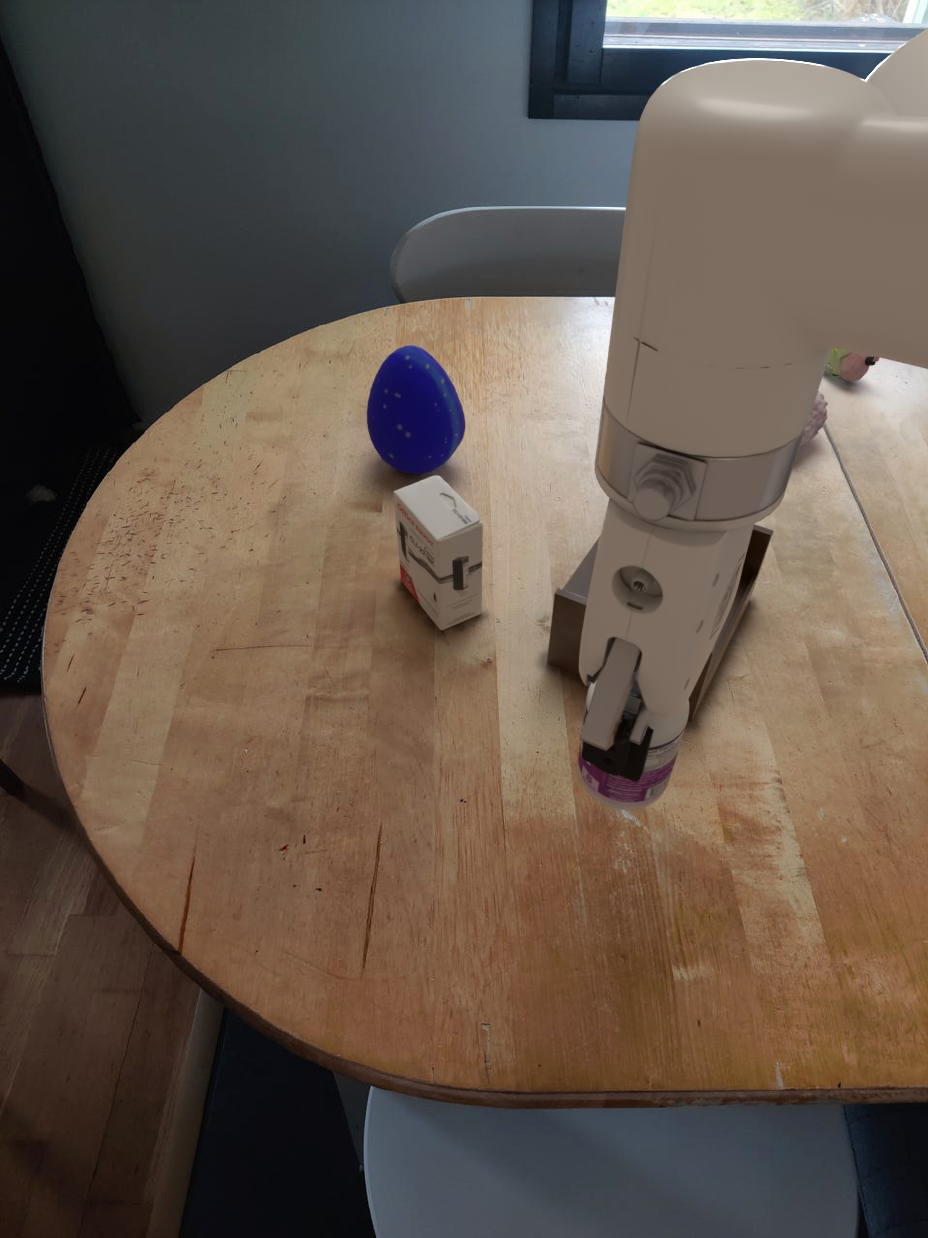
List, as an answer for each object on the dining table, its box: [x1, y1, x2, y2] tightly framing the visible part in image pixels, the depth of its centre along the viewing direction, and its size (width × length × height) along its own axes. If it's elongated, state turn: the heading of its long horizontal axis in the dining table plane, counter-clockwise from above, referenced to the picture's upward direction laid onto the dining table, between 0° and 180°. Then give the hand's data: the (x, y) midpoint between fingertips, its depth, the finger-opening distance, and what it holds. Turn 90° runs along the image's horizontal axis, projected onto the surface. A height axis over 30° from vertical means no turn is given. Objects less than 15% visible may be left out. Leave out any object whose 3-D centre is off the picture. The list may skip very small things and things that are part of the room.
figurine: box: [826, 348, 880, 383], centre depth 115 cm, size 9×7×15 cm
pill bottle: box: [576, 672, 689, 811], centre depth 46 cm, size 5×5×10 cm
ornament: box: [366, 344, 466, 475], centre depth 96 cm, size 11×9×15 cm
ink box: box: [393, 475, 484, 631], centre depth 81 cm, size 8×5×12 cm, turn 31°
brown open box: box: [546, 523, 774, 723], centre depth 79 cm, size 14×18×9 cm
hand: (633, 722), depth 46 cm, fingers closed on pill bottle, 5 cm apart
